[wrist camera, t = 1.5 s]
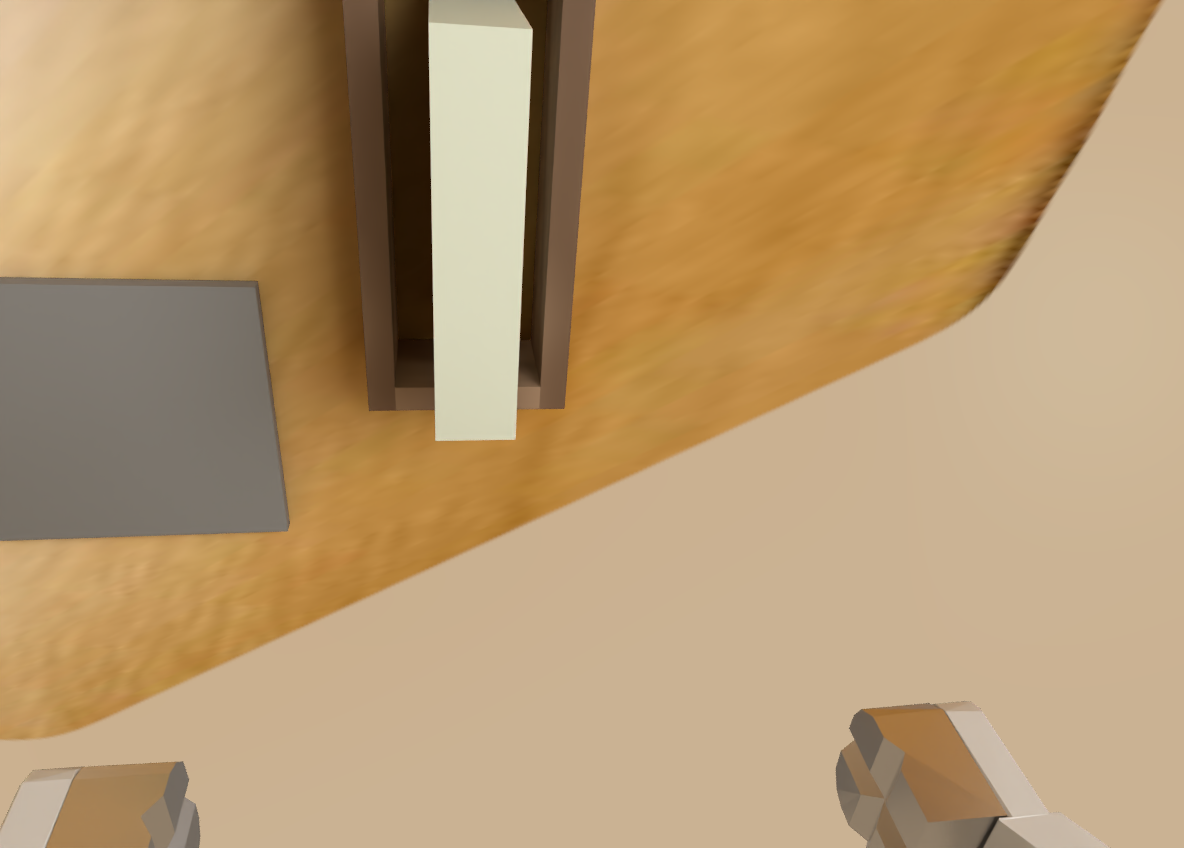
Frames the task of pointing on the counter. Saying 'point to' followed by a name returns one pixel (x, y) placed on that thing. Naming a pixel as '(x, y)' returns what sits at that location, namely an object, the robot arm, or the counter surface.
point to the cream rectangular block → (478, 211)
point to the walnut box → (408, 364)
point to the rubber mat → (136, 410)
